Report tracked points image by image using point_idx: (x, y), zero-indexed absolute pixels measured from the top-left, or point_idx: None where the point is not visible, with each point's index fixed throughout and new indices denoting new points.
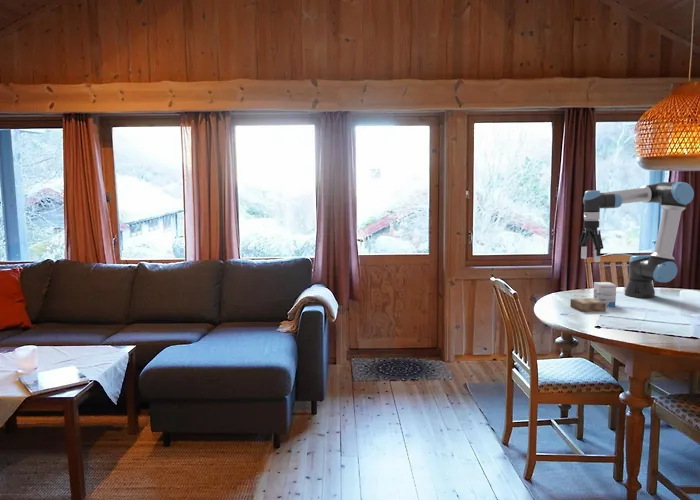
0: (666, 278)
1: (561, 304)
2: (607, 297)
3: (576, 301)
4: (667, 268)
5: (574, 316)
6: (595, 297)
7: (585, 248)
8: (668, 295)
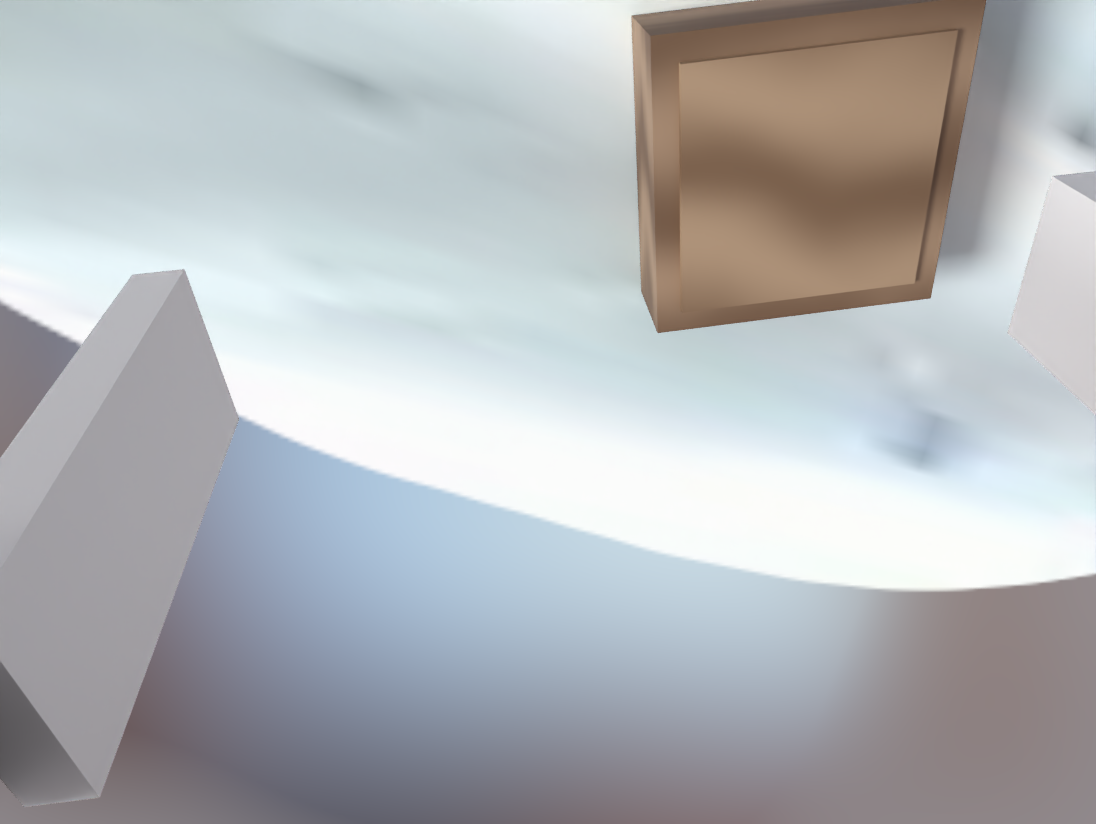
0: None
1: (541, 346)
2: None
3: (793, 315)
4: None
5: (1023, 386)
6: None
7: (53, 589)
8: None
